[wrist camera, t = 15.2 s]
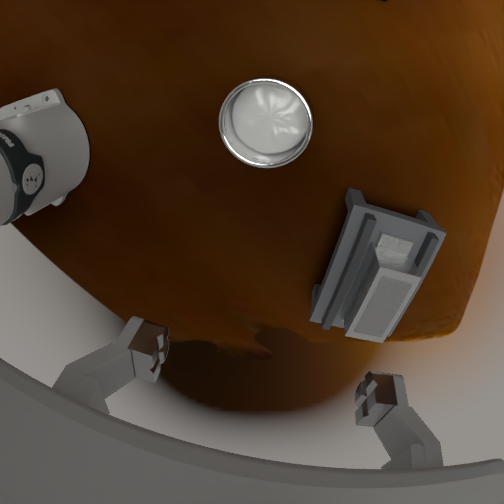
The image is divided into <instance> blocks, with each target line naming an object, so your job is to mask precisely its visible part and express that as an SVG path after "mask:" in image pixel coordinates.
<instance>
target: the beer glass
mask: <svg viewBox="0 0 504 504" xmlns="http://www.w3.org/2000/svg"><path fill="white" fill-rule="evenodd" d="M313 126H314V111H313V106H312V103H311V101H310V99H309V97H308V95H307V94H306V93H305V91H304V90H303V89H302V88H301V87H300V86H299V85H297V84H296V83H294V82H293V81H291V80H289V79H287V78H284V77H280V76H273V75H267V76H260V77H256V78H253V79H251V80H248V81H247V82H244V83H242V84H241V85H239V86H237V87H236V88H235V89H234V90H232V91H231V92H230V94H229V95H228V96H227V97H226V99H225V101H224V102H223V104H222V107H221V110H220V114H219V130H220V134H221V137H222V140H223V142H224V144H225V145H226V147H227V148H228V150H229V151H230V152H231V153H232V154H233V155H234V156H235V157H236V158H238V159H239V160H241V161H242V162H244V163H246V164H249V165H251V166H255V167H260V168H274V167H279V166H282V165H285V164H287V163H289V162H291V161H293V160H294V159H296V158H297V157H298V156H299V155H300V154H301V153H302V152H303V151H304V150H305V148H306V147H307V145H308V143H309V141H310V138H311V135H312V130H313Z"/></svg>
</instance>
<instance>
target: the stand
mask: <svg viewBox="0 0 504 504" xmlns="http://www.w3.org/2000/svg"><path fill="white" fill-rule="evenodd" d="M345 202H346V205H347V209H348V213H347V216H346V219H345V222H344V225H343V228H342V231H341V233H340V236H339V239H338V242H337V244H336V247H335V250H334V253H333V255H332V258H331V261H330V263H329V266H328V269H327V271H326V274H325V276H324V279H323V282H322V284H321V285H319V284H315V285H314V288H313V290H312V309H311V312H310V321H312V322H317V323H322V329H326V330H329V329H330V327H331V326H336V327H341V328H344V322H342V316H343V309H342V308H343V305H344V303H345V301H346V299H347V297H348V295H349V293H350V291H351V288H352V286H353V284H354V282H355V280H356V277H357V275H358V273H359V271H360V269H361V266H362V264H363V262H364V259H365V257H366V255H367V252H368V250H369V248H370V245H371V243H372V242H375V243H376V242H377V239H378V237H379V234H380V232H381V231H384V232H388V233H391V234H395V235H398V236H401V237H405V238H408V239H411V240H412V241H413V245H412V247H411V250H410V254H411V256H412V258H413V260H414V262H415V264H416V266H417V269H418V271H419V273H420V275H421V277H422V278H421V280H420V281H419V283H418V285H417V287H416V289H415V290H414V292H413V294H412V296H411V297H410V299H409V301H408V303H407V304H406V306H405V308H404V309H403V311H402V313H401V314H400V316H399V318H398V319H397V321H396V323H395V324H394V326H393V327H392V329H391V331H390V332H389V334H388V335H387V336H389V337H390V335H391V333H392V332H393V330H394V329H395V327H396V326H397V324H398V322H399V321H400V319H401V317H402V316H403V314H404V312H405V311H406V309H407V307H408V306H409V304H410V302H411V301H412V299H413V297H414V295H415V294H416V292H417V290H418V288H419V287H420V285H421V283H422V281H423V279H424V277H425V276H426V274H427V272H428V270H429V268H430V266H431V264H432V262H433V260H434V258H435V256H436V254H437V252H438V250H439V248H440V246H441V244H442V242H443V240H444V238H445V236H446V234H447V233H446V232H445V230H444V229H443V227H440V226H438V224H437V223H436V222H435V220H434V219H433V218H432V216H431V215H430V214H429V212H426V211H423V210H420V209H419V210H418V212H417V215H416V217H415V218H413V217H410V216H407V215H403V214H400V213H397V212H394V211H390V210H387V209H384V208H381V207H377V206H374V205H370V204H367V203H366V202H365V200H364V198H363V195H362V193H361V191H359V190H356V189H352V188H349V187H348V190H347V193H346V197H345Z"/></svg>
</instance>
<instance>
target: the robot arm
mask: <svg viewBox="0 0 504 504" xmlns="http://www.w3.org/2000/svg"><path fill="white" fill-rule="evenodd" d="M48 98H49V100H48ZM88 164H89V142H88V138H87V134H86V131H85V128H84V126H83V124H82V122H81V121H80V119H79V118H78V116H77V115H76V114H75V113H74V112H73V111H72V110H71V109H70V108H69V107H68V106H67V104H66V103H65V101H64V98H63V96H62V94H61V92H60V91H59V90H58V89H56V88H55V89H51V90H48V91H45V92H42V93H39V94H36V95H33V96H30V97H27V98H24V99H22V100H19V101H16V102H14V103H11V104H9V105H6V106H4V107H2V108H1V109H0V226H1V225H6V224H8V223H10V222H12V221H14V220H16V219H17V218H19V217H20V216H21V215H22V214H26V215H31V214H33V213H35V212H37V211H38V210H40V209H42V208H44V207H45V206H47V205H49V204H52V205H55V206H58V205H60V204H62V203H63V201H64V200H65V198H66V196H67V194H68V193H69V192H70V191H71V190H73V189H74V188H76V187H77V186H78V185H79V184H80V183H81V181H82V180H83V178H84V176H85V174H86V172H87V168H88ZM168 334H169V328H168V327H166V326H163V325H160V324H157V323H154V322H151V321H148V320H145V319H141V318H138V317H135V316H133V317H132V318H130V320H129V322H128V323H127V325H126V326H125V328H124V330H123V331H122V333H121V335H120V336H119V338H118V340H117V341H116V343H115V344H113V343H111V344H109V345H107V346H105V347H103V348H101V349H98V350H97V351H94V352H92V353H90V354H88V355H86V356H84V357H82V358H80V359H78V360H76V361H74V362H72V363H70V364H68V365H66V367H65V368H64V370H63V371H62V373H61V374H60V376H59V378H58V379H57V381H56V382H55V384H54V385H53V387H52V388H51V387H49V386H47V385H45V384H43V383H41V382H39V381H38V380H36V379H34V378H32V377H31V376H28V375H27V374H25V373H24V372H22V371H20V370H19V369H17V368H15V367H14V366H12V365H10V364H9V363H7V362H6V361H4V360H3V359H1V358H0V504H504V460H502V459H492V460H486V461H481V462H474V463H468V464H460V465H452V466H443V459H442V452H441V446H440V442H439V441H438V439H437V438H436V437H435V436H434V434H433V433H432V432H431V431H430V429H429V428H428V427H427V426H426V424H425V423H424V422H423V421H422V419H421V418H420V417H419V416H418V414H417V413H416V412H415V411H414V409H413V408H412V407H409V406H408V400H407V394H406V390H405V384H404V379H403V376H402V375H397V374H390V373H382V372H374V371H370V372H368V373H367V374H366V375H365V380H364V381H362V382H360V384H359V385H358V387H357V389H356V392H355V404H356V405H357V406H358V409H357V410H356V412H355V415H356V425H360V426H370V427H374V430H375V432H376V433H377V435H378V437H379V439H380V440H381V442H382V444H383V446H384V447H385V449H386V451H387V453H388V454H389V456H390V458H391V460H390V461H389V462H388V463H386V464H385V465H383V466H382V467H381V469H377V470H376V469H345V468H331V467H330V468H329V467H319V466H309V465H300V464H292V463H285V462H278V461H272V460H265V459H260V458H254V457H249V456H243V455H239V454H234V453H230V452H225V451H221V450H217V449H213V448H208V447H205V446H201V445H197V444H193V443H190V442H186V441H183V440H179V439H175V438H173V437H169V436H166V435H163V434H160V433H157V432H154V431H151V430H148V429H145V428H142V427H140V426H137V425H134V424H131V423H129V422H126V421H124V420H121V419H118V418H116V417H113V416H111V415H109V413H110V412H109V410H108V407H107V405H106V402H105V398H107V397H108V396H110V395H111V394H113V393H114V392H116V391H117V390H119V389H120V388H122V387H123V386H124V385H126V384H127V383H129V382H130V381H132V380H133V379H135V377H137V378H140V379H143V380H147V381H150V382H153V383H155V381H156V379H157V377H158V375H159V372H160V364H161V363H163V362H164V361H165V359H166V356H167V353H168V348H169V340H168V339H167V337H168Z"/></svg>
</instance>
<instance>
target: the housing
mask: <svg viewBox="0 0 504 504" xmlns="http://www.w3.org/2000/svg"><path fill="white" fill-rule="evenodd" d="M412 245H413V241H412V240H411V239H408V238H405V237H401V236H398V235H395V234H391V233H388V232H384V231H381V232H380V234H379V237H378V239H377V242H376V243H375V242H372V243H371V245H370V248H369V250H368V252H367V255H366V257H365V259H364V262H363V264H362V266H361V269H360V271H359V273H358V275H357V277H356V280H355V282H354V284H353V286H352V288H351V291H350V293H349V295H348V297H347V299H346V301H345V303H344V305H343V308H342V309H343V316H342V322H344V330H345V336H348V337H353V338H358V339H364V340H369V341H375V342H380V343H383V341H384V340H385V338H386V337H387V335H388V334H389V332H390V331H391V329H392V327H393V326H394V324H395V323H396V321H397V319H398V318H399V316H400V314H401V313H402V311H403V309H404V308H405V306H406V304H407V303H408V301H409V299H410V297H411V296H412V294H413V292H414V290H415V289H416V287H417V285H418V283H419V281H420V280H421V278H422V277H421V275H420V273H419V271H418V269H417V266H416V264H415V262H414V260H413V258H412V256H411V254H410V250H411V247H412Z"/></svg>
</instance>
